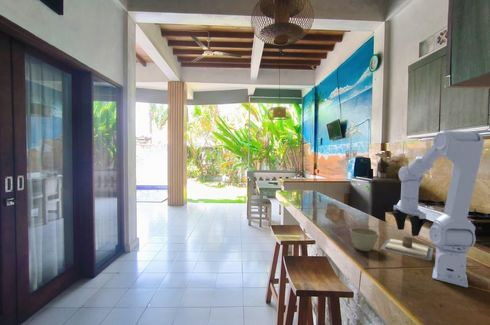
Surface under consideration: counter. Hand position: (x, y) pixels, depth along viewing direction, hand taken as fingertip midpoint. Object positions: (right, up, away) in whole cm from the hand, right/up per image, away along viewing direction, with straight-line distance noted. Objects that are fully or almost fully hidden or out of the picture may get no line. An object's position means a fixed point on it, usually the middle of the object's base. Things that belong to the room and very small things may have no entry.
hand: (407, 232), depth 99 cm
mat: (0, -7, 0) cm, 7 cm away
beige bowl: (-18, -7, -1) cm, 19 cm away
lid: (0, -6, 0) cm, 6 cm away
